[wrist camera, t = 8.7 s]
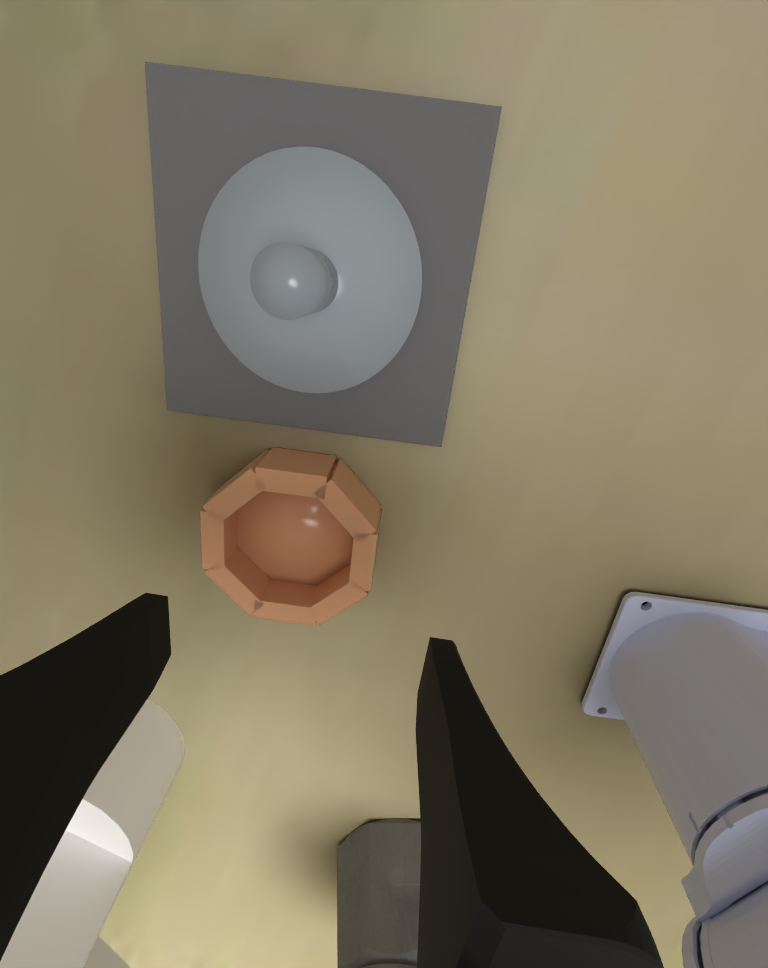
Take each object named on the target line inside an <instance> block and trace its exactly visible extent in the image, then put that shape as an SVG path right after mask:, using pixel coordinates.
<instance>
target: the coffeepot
mask: <svg viewBox="0 0 768 968" xmlns="http://www.w3.org/2000/svg"><path fill="white" fill-rule="evenodd" d="M420 865H421V821H416V820H411V819H398V818H395V819H383V820H378V821H373V822H370V823H367V824H365V825H362V826H360V827H359V828H357V829H355V830H354V831H352V832H351V833H350V834H349V835H348V836H347V837H346V839H345V841H344V842H343V843H342V844H341V845H339V846H338V847H337V943H338V968H417V950H418V926H419V898H420Z"/></svg>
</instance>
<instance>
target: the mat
mask: <svg viewBox="0 0 768 968" xmlns="http://www.w3.org/2000/svg"><path fill="white" fill-rule="evenodd" d="M145 73H146V88H147V104H148V119H149V134H150V150H151V165H152V181H153V196H154V211H155V227H156V242H157V258H158V273H159V288H160V304H161V319H162V334H163V350H164V365H165V381H166V396H167V410H170V411H177V412H185V413H192V414H199V415H207V416H214V417H222V418H229V419H237V420H244V421H252V422H259V423H266V424H274V425H281V426H289V427H296V428H304V429H311V430H318V431H326V432H333V433H341V434H348V435H356V436H363V437H370V438H378V439H385V440H393V441H400V442H408V443H415V444H423V445H430V446H437V447H441V446H442V440H443V434H444V429H445V423H446V418H447V412H448V406H449V401H450V395H451V389H452V384H453V378H454V372H455V367H456V361H457V356H458V350H459V344H460V339H461V333H462V327H463V322H464V316H465V310H466V305H467V299H468V294H469V288H470V282H471V277H472V271H473V265H474V260H475V254H476V248H477V243H478V237H479V231H480V226H481V220H482V215H483V209H484V203H485V198H486V192H487V186H488V181H489V175H490V169H491V164H492V158H493V153H494V147H495V141H496V136H497V130H498V124H499V119H500V113H501V107H499V106H492V105H484V104H476V103H468V102H460V101H452V100H444V99H436V98H428V97H420V96H412V95H404V94H397V93H389V92H381V91H373V90H365V89H357V88H349V87H341V86H333V85H325V84H317V83H309V82H301V81H294V80H286V79H278V78H270V77H262V76H254V75H246V74H238V73H230V72H222V71H214V70H206V69H199V68H191V67H183V66H175V65H167V64H159V63H151V62H145ZM300 146H301V147H318V148H322V149H327V150H332V151H335V152H337V153H340V154H343V155H345V156H348V157H350V158H352V159H353V160H355V161H357V162H359V163H361V164H362V165H364V166H365V167H367V168H368V169H369V170H370V171H372V172H373V173H374V174H376V175H377V176H378V177H379V178H380V179H381V180H382V181H383V182H384V183H385V184H386V185H387V186H388V187H389V188H390V190H391V191H392V192H393V194H394V195H395V196H396V197H397V199H398V200H399V202H400V203H401V205H402V207H403V209H404V210H405V212H406V214H407V215H408V218H409V220H410V222H411V225H412V227H413V229H414V232H415V236H416V239H417V242H418V246H419V251H420V257H421V263H422V290H421V299H420V303H419V308H418V313H417V316H416V319H415V321H414V324H413V327H412V329H411V331H410V333H409V335H408V337H407V339H406V341H405V343H404V344H403V346H402V347H401V349H400V350H399V352H398V353H397V354H396V355H395V356H394V358H393V359H392V360H391V361H390V362H389V363H388V364H387V365H386V366H385V367H384V368H383V369H382V370H380V371H379V372H378V373H377V374H375V375H374V376H372V377H371V378H369V379H368V380H366V381H364V382H362V383H360V384H358V385H356V386H353V387H350V388H347V389H344V390H340V391H335V392H330V393H304V392H299V391H294V390H289V389H286V388H283V387H280V386H277V385H275V384H273V383H271V382H269V381H267V380H265V379H263V378H262V377H260V376H258V375H257V374H255V373H254V372H252V371H251V370H250V369H249V368H247V367H246V366H245V365H244V364H243V363H241V362H240V361H239V360H238V359H237V358H236V356H235V355H234V354H233V353H232V352H231V351H230V350H229V349H228V347H227V346H226V345H225V343H224V342H223V341H222V339H221V338H220V336H219V334H218V333H217V331H216V329H215V328H214V326H213V323H212V321H211V319H210V317H209V315H208V312H207V309H206V306H205V303H204V300H203V297H202V292H201V287H200V282H199V271H198V252H199V244H200V237H201V232H202V229H203V225H204V222H205V219H206V216H207V214H208V212H209V209H210V207H211V205H212V203H213V201H214V200H215V198H216V196H217V195H218V193H219V191H220V190H221V189H222V187H223V186H224V185H225V184H226V183H227V181H228V180H229V179H230V178H231V177H232V176H233V175H234V174H235V173H236V172H237V171H239V170H240V169H241V168H242V167H243V166H245V165H246V164H248V163H249V162H251V161H252V160H254V159H256V158H258V157H260V156H262V155H265V154H267V153H269V152H272V151H276V150H280V149H283V148H291V147H300Z"/></svg>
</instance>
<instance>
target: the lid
mask: <svg viewBox="0 0 768 968" xmlns="http://www.w3.org/2000/svg"><path fill="white" fill-rule="evenodd" d="M198 271H199V282H200V287H201V292H202V297H203V300H204V303H205V306H206V309H207V312H208V315H209V317H210V319H211V321H212V323H213V326H214V328H215V329H216V331H217V333H218V334H219V336H220V338H221V339H222V341H223V342H224V343H225V345H226V346H227V347H228V349H229V350H230V351H231V352H232V353H233V354H234V355H235V356H236V358H237V359H238V360H239V361H240V362H241V363H243V364H244V365H245V366H246V367H247V368H249V369H250V370H251V371H252V372H254V373H255V374H257V375H258V376H260V377H262V378H263V379H265V380H267V381H269V382H271V383H273V384H275V385H277V386H280V387H283V388H286V389H289V390H294V391H299V392H304V393H330V392H335V391H340V390H344V389H347V388H350V387H353V386H356V385H358V384H360V383H362V382H364V381H366V380H368V379H369V378H371V377H372V376H374V375H375V374H377V373H378V372H379V371H380V370H382V369H383V368H384V367H385V366H386V365H387V364H388V363H389V362H390V361H391V360H392V359H393V358H394V356H395V355H396V354H397V353H398V352H399V350H400V349H401V347H402V346H403V344H404V343H405V341H406V339H407V337H408V335H409V333H410V331H411V329H412V327H413V324H414V321H415V319H416V316H417V313H418V308H419V303H420V299H421V290H422V263H421V257H420V251H419V246H418V242H417V239H416V236H415V232H414V229H413V227H412V225H411V222H410V220H409V218H408V215H407V214H406V212H405V210H404V209H403V207H402V205H401V203H400V202H399V200H398V199H397V197H396V196H395V195H394V194H393V192H392V191H391V190H390V188H389V187H388V186H387V185H386V184H385V183H384V182H383V181H382V180H381V179H380V178H379V177H378V176H377V175H376V174H374V173H373V172H372V171H370V170H369V169H368V168H367V167H365V166H364V165H362V164H361V163H359V162H357V161H355V160H353V159H352V158H350V157H348V156H345V155H343V154H340V153H337V152H335V151H332V150H327V149H322V148H318V147H301V146H300V147H291V148H283V149H280V150H276V151H272V152H269V153H267V154H265V155H262V156H260V157H258V158H256V159H254V160H252V161H251V162H249V163H248V164H246V165H245V166H243V167H242V168H241V169H240V170H239V171H237V172H236V173H235V174H234V175H233V176H232V177H231V178H230V179H229V180H228V181H227V183H226V184H225V185H224V186H223V187H222V189H221V190H220V191H219V193H218V195H217V196H216V198H215V200H214V201H213V203H212V205H211V207H210V209H209V212H208V214H207V216H206V219H205V222H204V225H203V229H202V232H201V237H200V244H199V252H198Z"/></svg>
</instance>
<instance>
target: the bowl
mask: <svg viewBox="0 0 768 968" xmlns="http://www.w3.org/2000/svg"><path fill="white" fill-rule="evenodd" d="M202 507H203V508H202V509H201V511H200V520H201V545H202V568H204V569H207V570H206V571H205V573H206V574H207V575H208V576H209V577H210V578H211V579H212V580H213V581H214V582H215V583H216V584H217V585H218V586H219V587H220V588H221V589H222V590H223V591H224V592H226V593H227V594H228V595H229V596H230V597H231V598H232V599H233V600H234V601H235V602H236V603H237V604H238V605H239V606H240V607H241V608H242V609H243V610H244V611H245V612H247V613H248V614H249V615H250V614H252V613H253V612H254V617H255V618H263V619H270V620H277V621H284V622H291V623H299V624H306V625H313V626H315V625H316V622H317V623H318V624H319V625H320V624H322V623H324V622H325V621H327V620H329V619H330V618H332V617H333V616H335V615H337V614H338V613H340V612H341V611H343V610H345V609H346V608H348V607H350V606H351V605H353V604H354V603H356V602H358V601H359V600H361V599H362V598H364V597H366V596H367V595H368V592H369V591H371V584H372V578H373V571H374V564H375V557H376V550H377V542H378V534H379V527H380V519H381V512H382V509H380V504H379V502H378V501H377V500H376V499H375V498H374V497H373V495H372V494H371V493H370V492H369V491H368V489H367V488H366V487H365V486H364V485H363V484H362V482H361V481H360V480H359V479H358V478H357V477H356V475H355V474H354V473H353V472H352V471H351V470H350V468H349V467H348V466H347V465H346V464H345V463H344V461H343V460H342V459H341V458H340V459H339V460H338V461H336V456H335V455H328V454H320V453H313V452H305V451H298V450H291V449H283V448H276V447H272V448H271V450H269V449H267V450H265V451H264V452H263V453H262V454H260V455H259V456H258V457H256V458H255V459H254V460H253V461H251V462H250V463H249V464H248V465H246V466H245V467H244V468H243V469H241V470H240V471H239V472H238V473H236V474H235V475H234V476H233V477H231V478H230V479H229V480H228V481H226V482H225V483H224V484H223V485H222V486H221V487H220V488H219V489H218V490H217V491H216V492H215V494H214V495H213V496H212V497H211V498H210V499H209V500H208V501H207V502H206V503H205V504H204V505H203V506H202Z"/></svg>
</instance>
